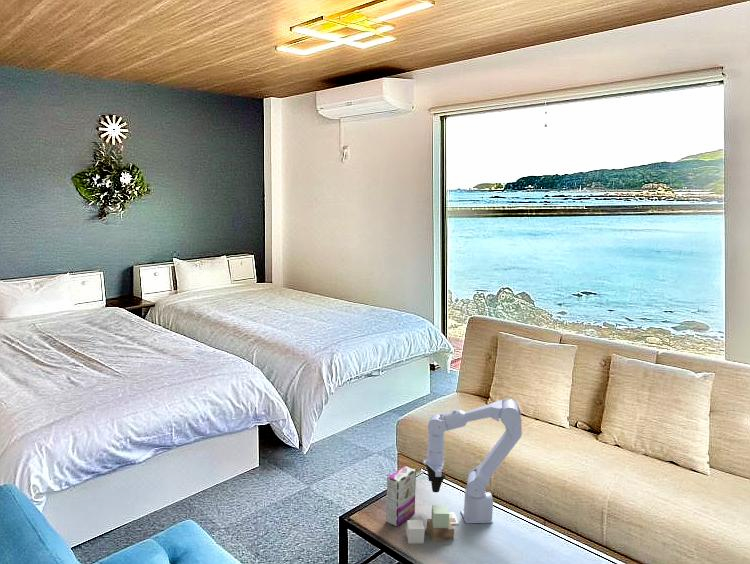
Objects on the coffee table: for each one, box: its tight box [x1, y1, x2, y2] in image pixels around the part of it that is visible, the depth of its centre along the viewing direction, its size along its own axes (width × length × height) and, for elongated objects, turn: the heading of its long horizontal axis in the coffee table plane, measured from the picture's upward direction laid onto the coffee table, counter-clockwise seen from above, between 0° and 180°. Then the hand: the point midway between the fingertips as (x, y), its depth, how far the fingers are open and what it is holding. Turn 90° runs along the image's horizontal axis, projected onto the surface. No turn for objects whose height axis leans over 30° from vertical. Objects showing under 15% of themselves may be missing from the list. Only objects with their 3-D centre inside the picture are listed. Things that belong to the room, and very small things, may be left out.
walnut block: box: [426, 518, 455, 543], centre depth 181 cm, size 7×7×4 cm
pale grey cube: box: [406, 519, 425, 544], centre depth 179 cm, size 5×5×5 cm
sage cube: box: [430, 504, 450, 528], centre depth 181 cm, size 5×5×5 cm
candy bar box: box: [385, 465, 417, 527], centre depth 190 cm, size 11×5×16 cm, turn 143°
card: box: [449, 511, 460, 526], centre depth 191 cm, size 5×7×1 cm
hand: (433, 486), depth 194 cm, fingers open, 7 cm apart
